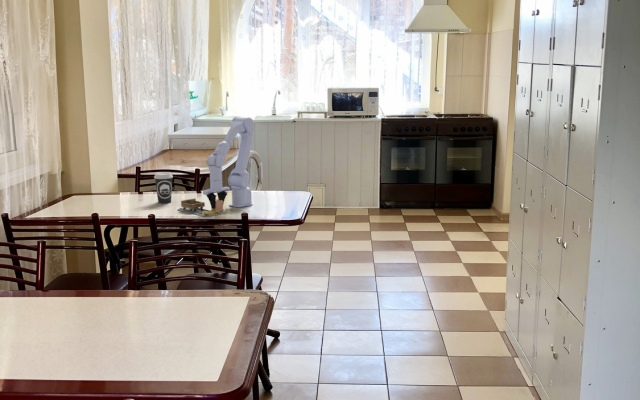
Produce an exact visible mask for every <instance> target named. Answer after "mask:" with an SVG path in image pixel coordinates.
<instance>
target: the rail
mask: <svg viewBox="0 0 640 400" xmlns="http://www.w3.org/2000/svg"><path fill="white" fill-rule="evenodd" d="M177 211H179V212H183V213H188V214H192V215H196V216H201V217H206V218H207V217H208V218H209V217H213V216H217V215H222V214H223V213H222V212H221V211H219V210H213V211H211V210H210V209H205V208H203V209H201V208H200V207H199V208H194V209H193V210H192V211H190V209H189V208H186V209H183V207H180V208H178V209H177Z"/></svg>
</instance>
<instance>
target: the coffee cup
mask: <svg viewBox="0 0 640 400" xmlns="http://www.w3.org/2000/svg"><path fill="white" fill-rule="evenodd" d="M173 177H174V176H173V174H172V172H166V171H165V172H164V171H163V172H156V173H155V174H154V177H153V179H154V182H155V186H156V187H155V188H156V197H157V202H158V204H170V203H172V195H173V194H172V193H173V192H172V190H173Z"/></svg>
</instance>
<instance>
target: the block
mask: <svg viewBox="0 0 640 400" xmlns="http://www.w3.org/2000/svg"><path fill="white" fill-rule="evenodd" d="M210 209H211V211H213V210H219V212H221V211H223V212H224V204H223V200H219V199H218V198H216V201H215V209H213V208H210Z"/></svg>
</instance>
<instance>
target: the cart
mask: <svg viewBox="0 0 640 400" xmlns="http://www.w3.org/2000/svg"><path fill="white" fill-rule="evenodd" d="M196 199H197V198H195V197H194V198H189V199H182V200H181V201H180V206H181V207H180V208H183V209H186V208H189V209H190V211H192V210H193V209H194V208H201V209H204V207H205V206H206V203H205V202H204V201H199V200H196Z"/></svg>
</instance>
